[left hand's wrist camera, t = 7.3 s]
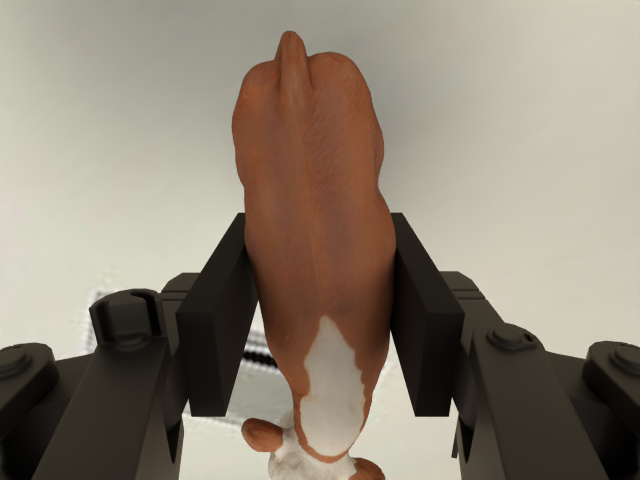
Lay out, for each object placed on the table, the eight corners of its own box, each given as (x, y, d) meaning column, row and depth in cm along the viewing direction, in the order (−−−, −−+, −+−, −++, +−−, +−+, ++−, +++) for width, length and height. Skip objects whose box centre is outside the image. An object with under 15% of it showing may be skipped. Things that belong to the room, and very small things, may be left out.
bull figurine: (274, 360, 19) (241, 547, 11) (258, 50, 14) (181, 10, 6) (365, 361, 19) (394, 548, 11) (382, 50, 14) (456, 11, 6)
